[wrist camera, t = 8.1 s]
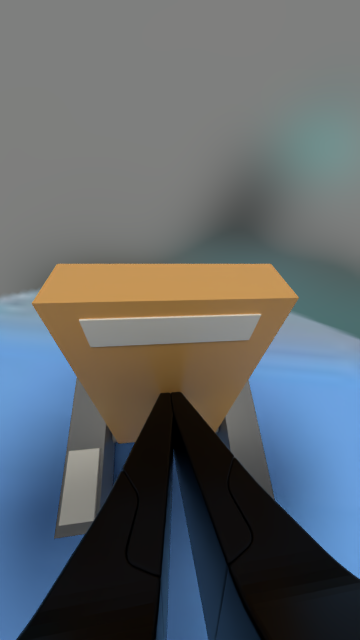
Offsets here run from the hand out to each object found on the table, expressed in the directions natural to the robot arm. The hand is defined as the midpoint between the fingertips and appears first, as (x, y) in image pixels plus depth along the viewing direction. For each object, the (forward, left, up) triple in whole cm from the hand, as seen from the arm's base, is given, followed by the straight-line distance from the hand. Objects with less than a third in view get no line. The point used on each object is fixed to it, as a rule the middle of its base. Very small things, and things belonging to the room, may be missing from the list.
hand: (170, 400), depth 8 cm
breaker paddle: (-1, -1, -7) cm, 7 cm away
